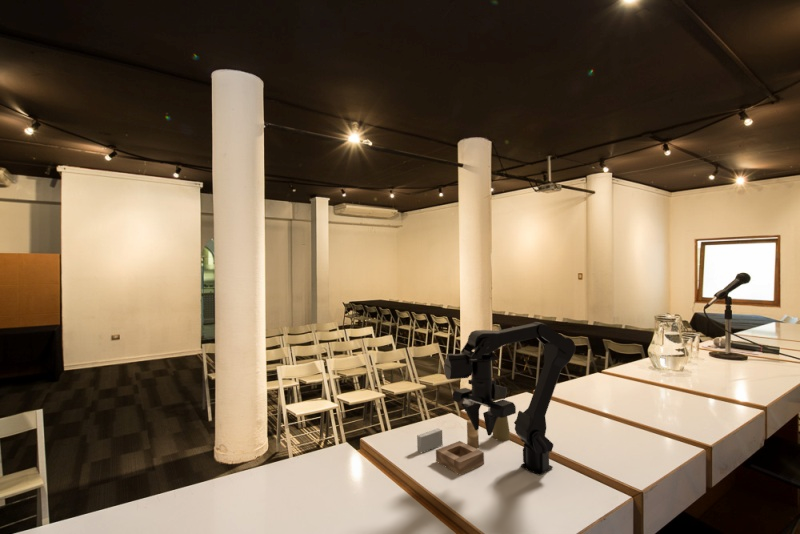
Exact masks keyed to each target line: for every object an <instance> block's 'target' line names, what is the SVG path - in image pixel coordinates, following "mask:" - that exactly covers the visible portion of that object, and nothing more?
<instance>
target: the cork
mask: <svg viewBox="0 0 800 534" xmlns="http://www.w3.org/2000/svg"><path fill="white" fill-rule="evenodd" d="M511 437H512V436H511V432H510V425H509V420H508V416H507V417H504V418H500V417H498V418H497V420H496V423H495V426H494V428H493V431H492V438H493V439H494V440H496V441H500V442H501V441H502V442H506V441H509V440H511Z"/></svg>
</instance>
